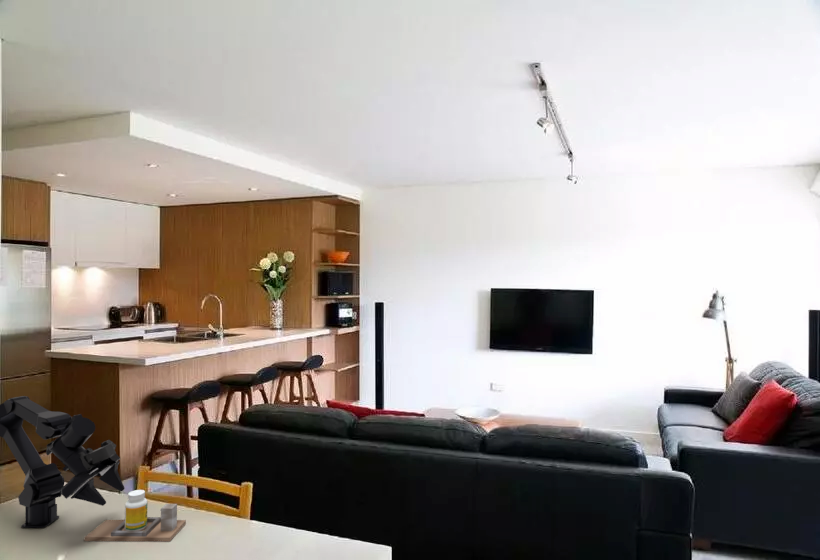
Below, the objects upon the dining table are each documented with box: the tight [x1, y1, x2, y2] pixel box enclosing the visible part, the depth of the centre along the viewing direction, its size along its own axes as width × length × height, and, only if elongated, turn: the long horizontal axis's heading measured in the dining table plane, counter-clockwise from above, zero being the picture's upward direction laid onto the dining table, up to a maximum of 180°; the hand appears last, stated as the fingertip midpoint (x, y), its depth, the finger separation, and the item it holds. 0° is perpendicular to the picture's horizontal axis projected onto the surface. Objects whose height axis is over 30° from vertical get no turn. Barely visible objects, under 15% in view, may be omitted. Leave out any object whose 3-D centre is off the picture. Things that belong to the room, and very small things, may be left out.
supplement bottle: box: [124, 489, 148, 531], centre depth 143 cm, size 5×5×10 cm
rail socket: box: [84, 503, 187, 542], centre depth 143 cm, size 22×10×7 cm, turn 91°
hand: (114, 496), depth 143 cm, fingers open, 9 cm apart
